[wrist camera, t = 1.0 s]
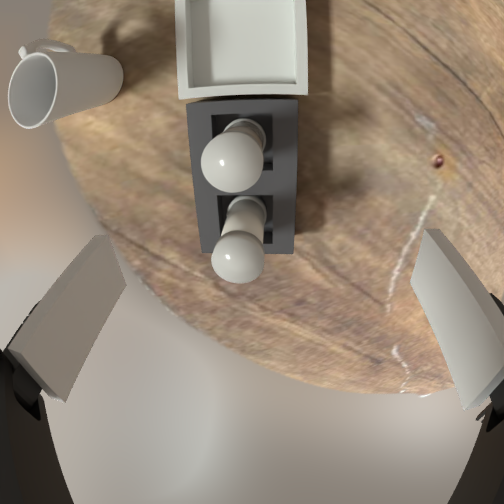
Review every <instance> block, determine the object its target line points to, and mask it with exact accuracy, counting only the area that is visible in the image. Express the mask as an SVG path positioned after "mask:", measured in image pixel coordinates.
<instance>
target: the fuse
mask: <svg viewBox="0 0 504 504" xmlns="http://www.w3.org/2000/svg"><path fill="white" fill-rule="evenodd" d="M226 216H227V218H226V221H225V224H224V228H223V231H222V234H221V237H220V238H219V239H218V241H217V242H216V245H215V248H214V251H213V254H212V259H211V260H212V266H213V268H214V270H215V272H216V273H217V274H218V275H219V276H220V277H221V278H223V279H225V280H227V281H229V282H232V283H247V282H250V281H252V280H254V279H256V278H257V277H258V276H259V275H260V274H261V272H262V270H263V267H264V255H265V251H264V247H263V234H264V224H265V222H266V217H267V207H266V204H265V202H264V200H263V199H262V198H261V197H260V196H258V195H236V196H234V197H233V198H232V200H231V201H230V203H229V206H228V209H227V213H226Z"/></svg>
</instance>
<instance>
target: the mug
mask: <svg viewBox="0 0 504 504" xmlns="http://www.w3.org/2000/svg"><path fill="white" fill-rule="evenodd" d="M40 48H47V49H51V50H54V51H56V52H36V50H37V49H40ZM19 54H20V56H21V58H22V60H21V61H20V63H19V64H18V65H17V67H16V68H15V70H14V72H13V74H12V77H11V80H10V84H9V89H8V103H9V109H10V112H11V115H12V117H13V118H14V120H15V121H16V122H17V123H18V124H19V125H20V126H22V127H24V128H28V129H31V128H35V127H38V126H40V125H43V124H46V123H49V122H51V121H54V120H57V119H60V118H62V117H65V116H68V115H71V114H74V113H78V112H81V111H84V110H88V109H91V108H94V107H98V106H101V105H104V104H106V103H108V102H110V101H111V100H113V99H114V98H115V97H116V95H117V94H118V93H119V91H120V89H121V86H122V83H123V69H122V66H121V64H120V63H119V61H118V60H117V59H115V58H114V57H112V56H108V55H101V54H91V53H77V52H76V50H75V48H74V47H73V46H71V45H68V44H65V43H62V42H59V41H55V40H49V39H39V40H35V41H33V42H31V43H29V44H28V45H24V46H22V47H21V48H20V49H19Z"/></svg>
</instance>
